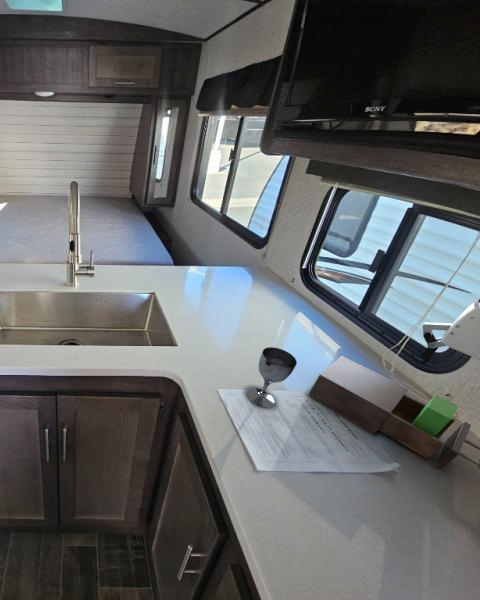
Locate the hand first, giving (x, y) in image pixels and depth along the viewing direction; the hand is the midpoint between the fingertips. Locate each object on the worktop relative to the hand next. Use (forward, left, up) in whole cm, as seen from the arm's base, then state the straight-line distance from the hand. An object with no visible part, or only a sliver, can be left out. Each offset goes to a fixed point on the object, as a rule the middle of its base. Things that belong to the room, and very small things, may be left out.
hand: (453, 374), depth 70 cm
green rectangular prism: (-2, -2, -20) cm, 20 cm away
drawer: (-3, -2, -21) cm, 21 cm away
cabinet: (+12, -2, -22) cm, 25 cm away
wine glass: (+27, +18, -22) cm, 39 cm away
